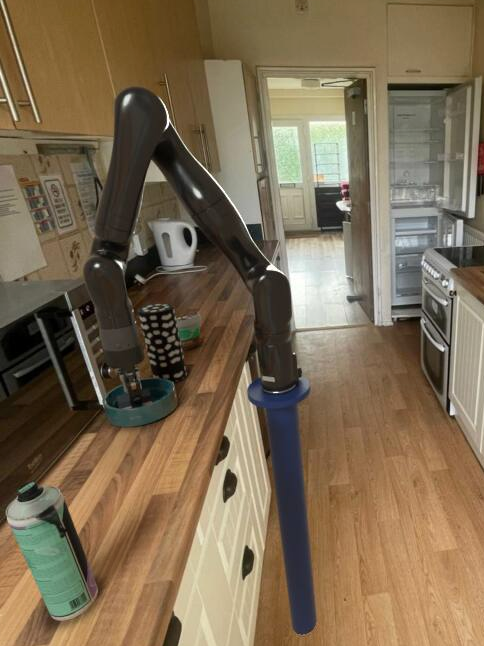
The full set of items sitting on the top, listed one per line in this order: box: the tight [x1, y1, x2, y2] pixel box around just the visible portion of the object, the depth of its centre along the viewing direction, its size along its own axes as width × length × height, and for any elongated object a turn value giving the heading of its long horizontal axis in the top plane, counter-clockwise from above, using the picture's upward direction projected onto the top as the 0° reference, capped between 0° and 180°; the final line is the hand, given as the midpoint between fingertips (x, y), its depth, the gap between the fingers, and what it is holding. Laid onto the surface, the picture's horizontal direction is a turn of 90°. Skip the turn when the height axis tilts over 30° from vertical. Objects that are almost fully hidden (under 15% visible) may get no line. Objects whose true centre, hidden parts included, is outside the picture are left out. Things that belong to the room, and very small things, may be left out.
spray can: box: [5, 480, 99, 622], centre depth 54 cm, size 6×6×20 cm
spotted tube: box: [137, 302, 188, 383], centre depth 114 cm, size 8×8×20 cm
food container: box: [176, 310, 202, 351], centre depth 134 cm, size 12×6×10 cm, turn 132°
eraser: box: [117, 389, 152, 409], centre depth 100 cm, size 6×4×4 cm, turn 126°
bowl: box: [101, 377, 179, 428], centre depth 101 cm, size 15×15×5 cm
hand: (137, 409), depth 101 cm, fingers closed on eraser, 4 cm apart
